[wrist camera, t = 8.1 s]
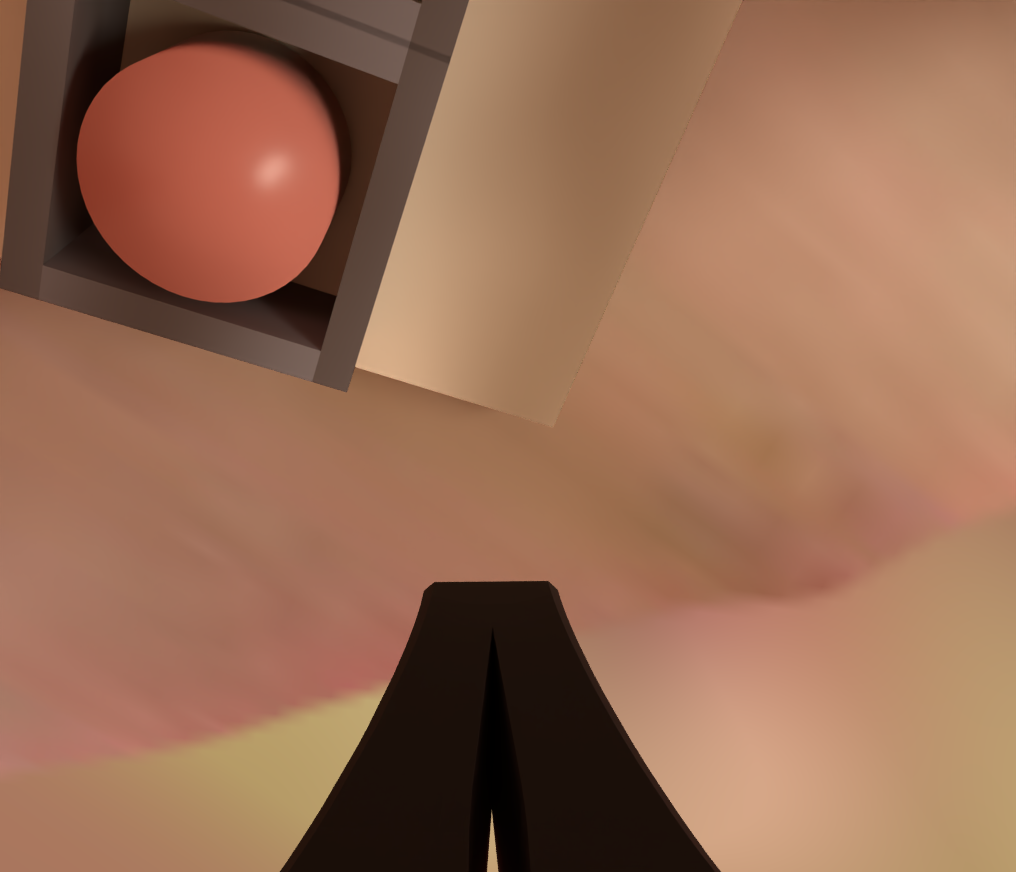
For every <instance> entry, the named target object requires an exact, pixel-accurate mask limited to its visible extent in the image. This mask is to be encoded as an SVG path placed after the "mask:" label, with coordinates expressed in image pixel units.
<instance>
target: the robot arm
mask: <svg viewBox="0 0 1016 872" xmlns="http://www.w3.org/2000/svg"><path fill="white" fill-rule="evenodd" d="M491 812H492V815H493V824H494V834H495V843H496V852H497V862H498V871H499V872H721V871H720V870H719V869H718V868H717V866H716V865H715V864H714V862H713V861H712V860H711V858H710V857H709V856H708V855H707V853H706V852H705V851H704V849H703V848H702V846H701V845H700V843H699V842H698V841H697V839H696V838H695V837H694V835H693V834H692V832H691V831H690V829H689V828H688V827H687V825H686V824H685V822H684V821H683V819H682V818H681V817H680V815H679V814H678V812H677V811H676V809H675V808H674V806H673V805H672V803H671V802H670V800H669V799H668V797H667V796H666V794H665V793H664V792H663V790H662V788H661V787H660V785H659V784H658V782H657V781H656V779H655V778H654V776H653V775H652V773H651V772H650V770H649V769H648V767H647V765H646V764H645V762H644V761H643V759H642V757H641V756H640V754H639V753H638V751H637V749H636V748H635V746H634V745H633V743H632V741H631V740H630V738H629V736H628V734H627V733H626V731H625V729H624V727H623V726H622V724H621V722H620V721H619V719H618V717H617V715H616V714H615V712H614V710H613V708H612V707H611V705H610V703H609V702H608V700H607V698H606V696H605V694H604V693H603V691H602V689H601V687H600V685H599V683H598V681H597V679H596V678H595V676H594V674H593V672H592V670H591V668H590V666H589V664H588V662H587V660H586V658H585V656H584V654H583V652H582V649H581V647H580V645H579V643H578V641H577V639H576V637H575V634H574V632H573V630H572V628H571V625H570V623H569V620H568V618H567V616H566V613H565V610H564V608H563V605H562V602H561V599H560V596H559V593H558V590H557V589H556V588H555V587H554V586H553V585H552V584H551V583H550V582H548V581H510V582H434V583H433V584H432V585H430V586H429V587H428V588H427V589H426V590H424V593H423V597H422V601H421V606H420V609H419V612H418V615H417V618H416V621H415V624H414V627H413V630H412V632H411V635H410V637H409V640H408V642H407V645H406V647H405V650H404V652H403V654H402V657H401V659H400V661H399V664H398V666H397V668H396V670H395V673H394V675H393V677H392V679H391V681H390V683H389V685H388V687H387V689H386V691H385V693H384V695H383V697H382V699H381V701H380V703H379V705H378V707H377V709H376V711H375V714H374V716H373V718H372V720H371V722H370V724H369V726H368V728H367V730H366V731H365V733H364V735H363V737H362V739H361V741H360V743H359V745H358V746H357V748H356V750H355V752H354V753H353V755H352V757H351V759H350V760H349V762H348V764H347V765H346V767H345V769H344V771H343V772H342V774H341V776H340V777H339V779H338V781H337V782H336V784H335V786H334V787H333V789H332V791H331V793H330V794H329V796H328V798H327V800H326V801H325V803H324V805H323V807H322V808H321V810H320V811H319V813H318V814H317V816H316V818H315V819H314V821H313V823H312V824H311V825H310V827H309V829H308V830H307V832H306V833H305V835H304V836H303V838H302V840H301V841H300V843H299V844H298V846H297V847H296V849H295V850H294V852H293V853H292V855H291V856H290V858H289V859H288V861H287V862H286V864H285V865H284V867H283V868H282V870H281V871H280V872H487V862H488V851H489V837H490V823H491Z"/></svg>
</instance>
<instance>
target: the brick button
mask: <svg viewBox="0 0 1016 872" xmlns="http://www.w3.org/2000/svg"><path fill="white" fill-rule="evenodd" d="M351 156H352V155H351V140H350V135H349V130H348V126H347V122H346V119H345V116H344V113H343V111H342V109H341V106H340V104H339V102H338V100H337V98H336V96H335V95H334V93H333V92H332V90H331V88H330V87H329V85H328V84H327V83H326V81H325V80H324V79H323V78H322V76H321V75H320V74H319V73H318V72H317V71H316V70H315V69H314V68H313V67H312V66H311V65H310V64H309V63H308V62H307V61H306V60H305V59H303V58H302V57H301V56H300V55H298V54H297V53H296V52H294V51H292V50H291V49H289V48H287V47H286V46H284V45H283V44H281V43H278V42H276V41H274V40H272V39H269V38H267V37H263V36H260V35H257V34H253V33H248V32H242V31H215V32H207V33H204V34H200V35H196V36H193V37H191V38H189V39H187V40H184V41H182V42H180V43H178V44H176V45H173V46H171V47H169V48H167V49H165V50H162V51H160V52H158V53H156V54H154V55H152V56H149V57H147V58H145V59H143V60H141V61H139V62H136V63H134V64H132V65H130V66H128V67H127V68H125V69H124V70H122V71H121V72H119V73H118V74H116V75H115V76H114V77H113V78H112V79H111V80H109V81H108V82H107V83H106V84H105V85H104V86H103V87H102V89H101V90H100V91H99V92H98V94H97V95H96V96H95V98H94V99H93V101H92V103H91V105H90V106H89V108H88V110H87V112H86V114H85V117H84V120H83V122H82V125H81V129H80V133H79V138H78V144H77V172H78V179H79V184H80V189H81V193H82V196H83V199H84V202H85V205H86V208H87V210H88V212H89V214H90V216H91V218H92V220H93V222H94V224H95V226H96V227H97V229H98V230H99V232H100V234H101V235H102V237H103V238H104V240H105V241H106V242H107V243H108V245H109V246H110V247H111V248H112V250H113V251H114V252H115V253H116V254H117V255H118V256H119V257H120V258H121V259H122V260H123V261H124V262H125V263H126V264H127V265H128V266H130V267H131V268H132V269H133V270H135V271H136V272H137V273H138V274H140V275H141V276H143V277H144V278H146V279H147V280H149V281H150V282H152V283H154V284H156V285H158V286H160V287H162V288H164V289H165V290H167V291H170V292H173V293H175V294H178V295H181V296H183V297H187V298H191V299H195V300H200V301H208V302H223V303H231V302H239V301H246V300H250V299H255V298H259V297H261V296H264V295H266V294H269V293H272V292H274V291H276V290H277V289H279V288H281V287H283V286H284V285H286V284H287V283H289V282H290V281H291V280H293V279H294V278H295V277H296V276H298V275H299V274H300V273H301V271H302V270H303V269H304V268H305V267H306V266H307V265H308V264H309V262H310V261H311V260H312V258H313V257H314V256H315V254H316V252H317V250H318V248H319V247H320V245H321V243H322V241H323V239H324V236H325V234H326V232H327V230H328V228H329V226H330V223H331V221H332V219H333V217H334V215H335V213H336V210H337V208H338V206H339V204H340V202H341V200H342V197H343V195H344V192H345V189H346V187H347V184H348V180H349V175H350V170H351Z"/></svg>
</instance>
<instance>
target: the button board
mask: <svg viewBox="0 0 1016 872" xmlns="http://www.w3.org/2000/svg"><path fill="white" fill-rule="evenodd" d="M742 1H743V0H0V258H2V260H1V270H0V288H1V289H5V290H8V291H11V292H15V293H18V294H21V295H25V296H28V297H31V298H35V299H38V300H41V301H45V302H48V303H51V304H55V305H58V306H61V307H64V308H68V309H71V310H74V311H78V312H81V313H84V314H88V315H91V316H94V317H98V318H101V319H104V320H108V321H111V322H114V323H118V324H121V325H124V326H128V327H131V328H134V329H138V330H141V331H144V332H148V333H151V334H154V335H158V336H161V337H164V338H168V339H171V340H174V341H178V342H181V343H184V344H188V345H191V346H194V347H198V348H201V349H204V350H208V351H211V352H214V353H218V354H221V355H224V356H228V357H231V358H234V359H238V360H241V361H244V362H248V363H251V364H254V365H257V366H261V367H264V368H267V369H271V370H274V371H277V372H281V373H284V374H287V375H291V376H294V377H297V378H301V379H304V380H307V381H311V382H314V383H317V384H321V385H324V386H327V387H331V388H334V389H337V390H341V391H344V392H347V390H348V387H349V384H350V381H351V378H352V374H353V371H354V368H355V367H357V368H360V369H364V370H367V371H370V372H373V373H377V374H380V375H383V376H386V377H390V378H393V379H396V380H399V381H403V382H406V383H409V384H413V385H416V386H419V387H422V388H426V389H429V390H432V391H435V392H439V393H442V394H445V395H448V396H452V397H455V398H458V399H461V400H465V401H468V402H471V403H474V404H478V405H481V406H484V407H488V408H491V409H494V410H497V411H501V412H504V413H507V414H510V415H514V416H517V417H520V418H523V419H527V420H530V421H533V422H536V423H540V424H543V425H546V426H550V427H554V425H555V422H556V420H557V418H558V416H559V413H560V411H561V409H562V407H563V404H564V402H565V400H566V398H567V395H568V393H569V391H570V389H571V386H572V384H573V382H574V380H575V377H576V375H577V373H578V370H579V368H580V366H581V364H582V361H583V359H584V357H585V355H586V352H587V350H588V348H589V346H590V343H591V341H592V339H593V337H594V334H595V332H596V330H597V328H598V325H599V323H600V321H601V319H602V316H603V314H604V312H605V310H606V307H607V305H608V303H609V301H610V298H611V296H612V294H613V292H614V289H615V287H616V285H617V283H618V280H619V278H620V276H621V274H622V271H623V269H624V267H625V265H626V262H627V260H628V258H629V256H630V253H631V251H632V249H633V247H634V244H635V242H636V240H637V238H638V235H639V233H640V231H641V229H642V226H643V224H644V222H645V220H646V217H647V215H648V213H649V211H650V208H651V206H652V204H653V202H654V199H655V197H656V195H657V193H658V190H659V188H660V186H661V184H662V181H663V179H664V177H665V175H666V172H667V170H668V168H669V166H670V163H671V161H672V159H673V157H674V154H675V152H676V150H677V148H678V145H679V143H680V141H681V139H682V136H683V134H684V132H685V130H686V127H687V125H688V123H689V121H690V118H691V116H692V114H693V111H694V109H695V107H696V105H697V102H698V100H699V98H700V96H701V93H702V91H703V89H704V87H705V84H706V82H707V80H708V78H709V75H710V73H711V71H712V69H713V66H714V64H715V62H716V60H717V57H718V55H719V53H720V51H721V48H722V46H723V44H724V42H725V39H726V37H727V35H728V33H729V30H730V28H731V26H732V24H733V21H734V19H735V17H736V15H737V12H738V10H739V8H740V6H741V3H742ZM215 31H242V32H248V33H253V34H257V35H260V36H263V37H267V38H269V39H272V40H274V41H276V42H278V43H281V44H283V45H284V46H286V47H287V48H289V49H291V50H292V51H294V52H296V53H297V54H298V55H300V56H301V57H302V58H303V59H305V60H306V61H307V62H308V63H309V64H310V65H311V66H312V67H313V68H314V69H315V70H316V71H317V72H318V73H319V74H320V75H321V76H322V78H323V79H324V80H325V81H326V83H327V84H328V85H329V87H330V88H331V90H332V92H333V93H334V95H335V96H336V98H337V100H338V102H339V104H340V106H341V109H342V111H343V113H344V116H345V119H346V122H347V126H348V130H349V135H350V140H351V155H352V156H351V170H350V175H349V180H348V184H347V187H346V189H345V192H344V195H343V197H342V200H341V202H340V204H339V206H338V208H337V210H336V213H335V215H334V217H333V219H332V221H331V223H330V226H329V228H328V230H327V232H326V234H325V236H324V239H323V241H322V243H321V245H320V247H319V248H318V250H317V252H316V254H315V256H314V257H313V258H312V260H311V261H310V262H309V264H308V265H307V266H306V267H305V268H304V269H303V270H302V271H301V273H300V274H299V275H298V276H296V277H295V278H294V279H293V280H291V281H290V282H289V283H287V284H286V285H284V286H283V287H281V288H279V289H277V290H276V291H274V292H272V293H269V294H266V295H264V296H261V297H259V298H255V299H250V300H246V301H239V302H231V303H223V302H208V301H200V300H195V299H191V298H187V297H183V296H181V295H178V294H175V293H173V292H170V291H167V290H165V289H164V288H162V287H160V286H158V285H156V284H154V283H152V282H150V281H149V280H147V279H146V278H144V277H143V276H141V275H140V274H138V273H137V272H136V271H135V270H133V269H132V268H131V267H130V266H128V265H127V264H126V263H125V262H124V261H123V260H122V259H121V258H120V257H119V256H118V255H117V254H116V253H115V252H114V251H113V250H112V248H111V247H110V246H109V245H108V243H107V242H106V241H105V240H104V238H103V237H102V235H101V234H100V232H99V230H98V229H97V227H96V226H95V224H94V222H93V220H92V218H91V216H90V214H89V212H88V210H87V208H86V205H85V202H84V199H83V196H82V193H81V189H80V184H79V179H78V172H77V144H78V138H79V133H80V129H81V125H82V122H83V120H84V117H85V114H86V112H87V110H88V108H89V106H90V105H91V103H92V101H93V99H94V98H95V96H96V95H97V94H98V92H99V91H100V90H101V89H102V87H103V86H104V85H105V84H106V83H107V82H108V81H109V80H111V79H112V78H113V77H114V76H115V75H116V74H118V73H119V72H121V71H122V70H124V69H125V68H127V67H128V66H130V65H132V64H134V63H136V62H139V61H141V60H143V59H145V58H147V57H149V56H152V55H154V54H156V53H158V52H160V51H162V50H165V49H167V48H169V47H171V46H173V45H176V44H178V43H180V42H182V41H184V40H187V39H189V38H191V37H193V36H196V35H200V34H204V33H207V32H215Z"/></svg>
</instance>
